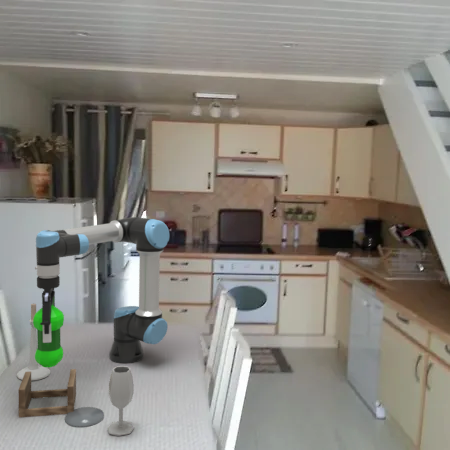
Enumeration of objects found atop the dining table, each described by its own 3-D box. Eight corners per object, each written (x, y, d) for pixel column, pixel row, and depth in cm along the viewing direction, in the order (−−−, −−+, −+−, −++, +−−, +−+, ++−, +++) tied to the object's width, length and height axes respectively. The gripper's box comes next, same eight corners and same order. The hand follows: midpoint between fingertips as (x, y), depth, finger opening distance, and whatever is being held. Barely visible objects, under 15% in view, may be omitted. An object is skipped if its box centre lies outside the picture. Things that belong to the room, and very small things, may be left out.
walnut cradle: (76, 394, 189) (76, 369, 188) (73, 413, 175) (73, 386, 174) (25, 397, 185) (25, 371, 184) (18, 417, 171) (18, 389, 169)
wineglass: (109, 423, 169) (109, 363, 167) (135, 422, 170) (136, 364, 168) (105, 436, 161) (105, 374, 158) (132, 436, 161) (133, 374, 159)
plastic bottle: (40, 358, 183) (39, 292, 180) (68, 359, 183) (68, 293, 180) (29, 369, 174) (27, 300, 170) (58, 370, 173) (58, 301, 170)
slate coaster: (104, 407, 180) (104, 405, 180) (103, 425, 167) (103, 423, 167) (66, 409, 177) (66, 408, 177) (63, 428, 164) (63, 427, 164)
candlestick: (18, 369, 209) (18, 299, 206) (50, 367, 213) (50, 298, 210) (15, 381, 197) (14, 307, 194) (49, 379, 201) (49, 306, 198)
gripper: (41, 269, 185) (42, 326, 187) (31, 284, 162) (33, 349, 165) (62, 268, 186) (63, 325, 189) (56, 283, 164) (56, 347, 167)
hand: (49, 336), depth 177 cm, fingers closed on plastic bottle, 10 cm apart
